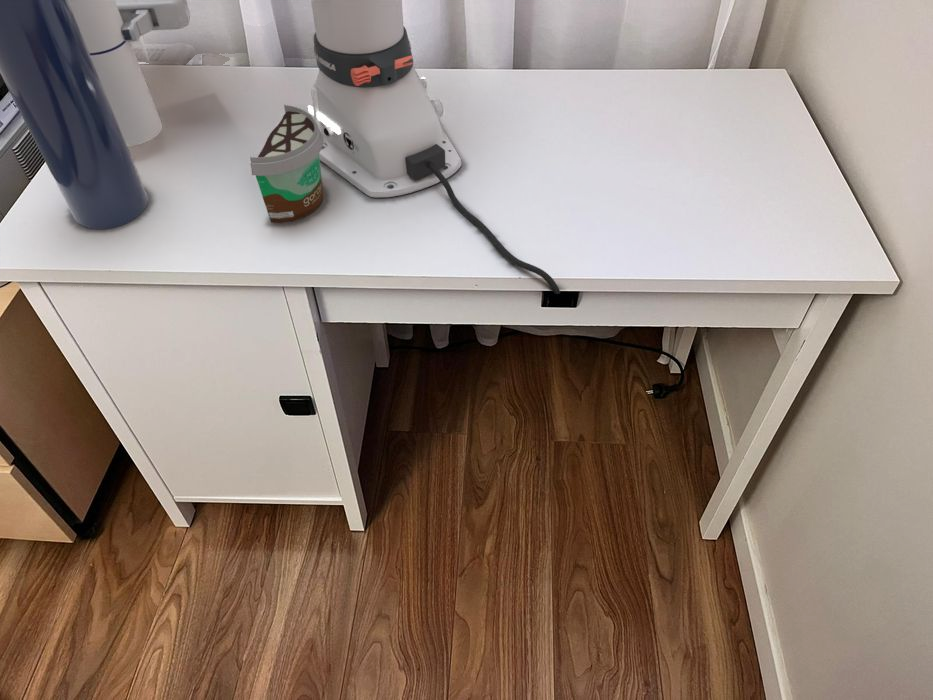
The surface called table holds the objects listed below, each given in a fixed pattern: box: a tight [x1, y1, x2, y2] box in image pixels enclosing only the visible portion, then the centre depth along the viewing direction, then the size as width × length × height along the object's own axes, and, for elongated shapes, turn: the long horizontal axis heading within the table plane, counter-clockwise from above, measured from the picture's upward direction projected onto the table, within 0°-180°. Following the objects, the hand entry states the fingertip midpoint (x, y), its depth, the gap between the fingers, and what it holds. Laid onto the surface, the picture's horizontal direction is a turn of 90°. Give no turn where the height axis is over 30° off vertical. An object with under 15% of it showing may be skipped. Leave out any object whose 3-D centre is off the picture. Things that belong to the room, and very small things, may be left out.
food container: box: [249, 104, 324, 224], centre depth 89 cm, size 12×6×10 cm, turn 170°
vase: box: [0, 0, 149, 230], centre depth 79 cm, size 9×9×36 cm
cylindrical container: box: [68, 0, 163, 147], centre depth 89 cm, size 7×7×25 cm
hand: (93, 37), depth 88 cm, fingers closed on cylindrical container, 7 cm apart
